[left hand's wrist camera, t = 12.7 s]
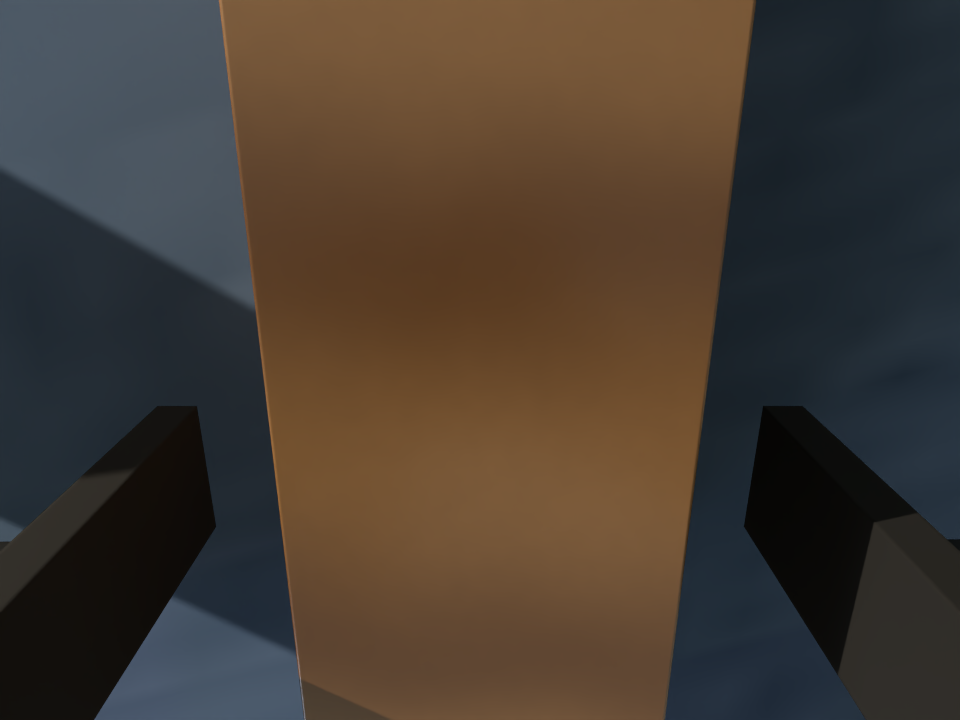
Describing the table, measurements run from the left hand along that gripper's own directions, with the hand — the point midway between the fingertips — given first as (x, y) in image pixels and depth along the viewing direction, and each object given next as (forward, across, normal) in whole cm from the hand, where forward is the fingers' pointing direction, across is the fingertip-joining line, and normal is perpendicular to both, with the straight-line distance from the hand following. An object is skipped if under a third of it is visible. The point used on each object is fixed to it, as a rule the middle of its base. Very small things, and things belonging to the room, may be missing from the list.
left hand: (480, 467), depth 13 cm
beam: (+3, 0, -27) cm, 27 cm away
